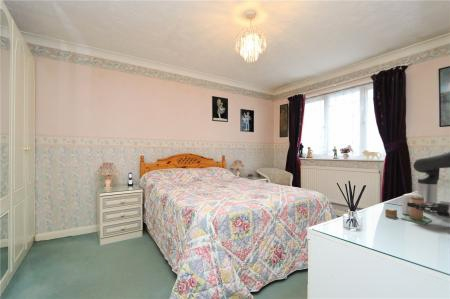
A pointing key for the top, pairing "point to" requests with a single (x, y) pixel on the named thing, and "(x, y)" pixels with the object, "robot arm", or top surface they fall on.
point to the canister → (414, 212)
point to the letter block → (391, 213)
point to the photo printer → (404, 203)
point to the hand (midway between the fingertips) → (410, 203)
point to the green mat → (416, 220)
